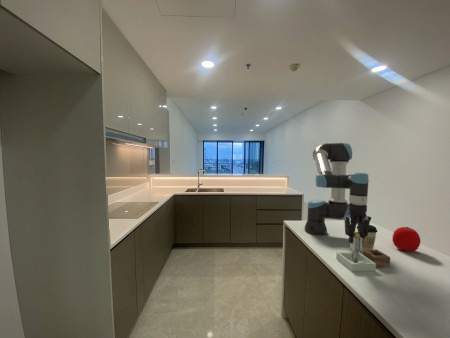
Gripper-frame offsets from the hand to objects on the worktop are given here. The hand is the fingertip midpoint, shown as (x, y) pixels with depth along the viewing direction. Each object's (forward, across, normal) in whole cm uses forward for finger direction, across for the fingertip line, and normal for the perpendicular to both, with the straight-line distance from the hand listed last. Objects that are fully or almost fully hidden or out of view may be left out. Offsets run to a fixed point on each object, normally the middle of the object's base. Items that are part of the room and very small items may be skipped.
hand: (355, 249), depth 101 cm
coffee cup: (+8, +16, +14) cm, 23 cm away
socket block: (+8, +12, +1) cm, 14 cm away
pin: (+7, 0, 0) cm, 7 cm away
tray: (+8, 0, 0) cm, 8 cm away
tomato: (+8, +42, +15) cm, 46 cm away
